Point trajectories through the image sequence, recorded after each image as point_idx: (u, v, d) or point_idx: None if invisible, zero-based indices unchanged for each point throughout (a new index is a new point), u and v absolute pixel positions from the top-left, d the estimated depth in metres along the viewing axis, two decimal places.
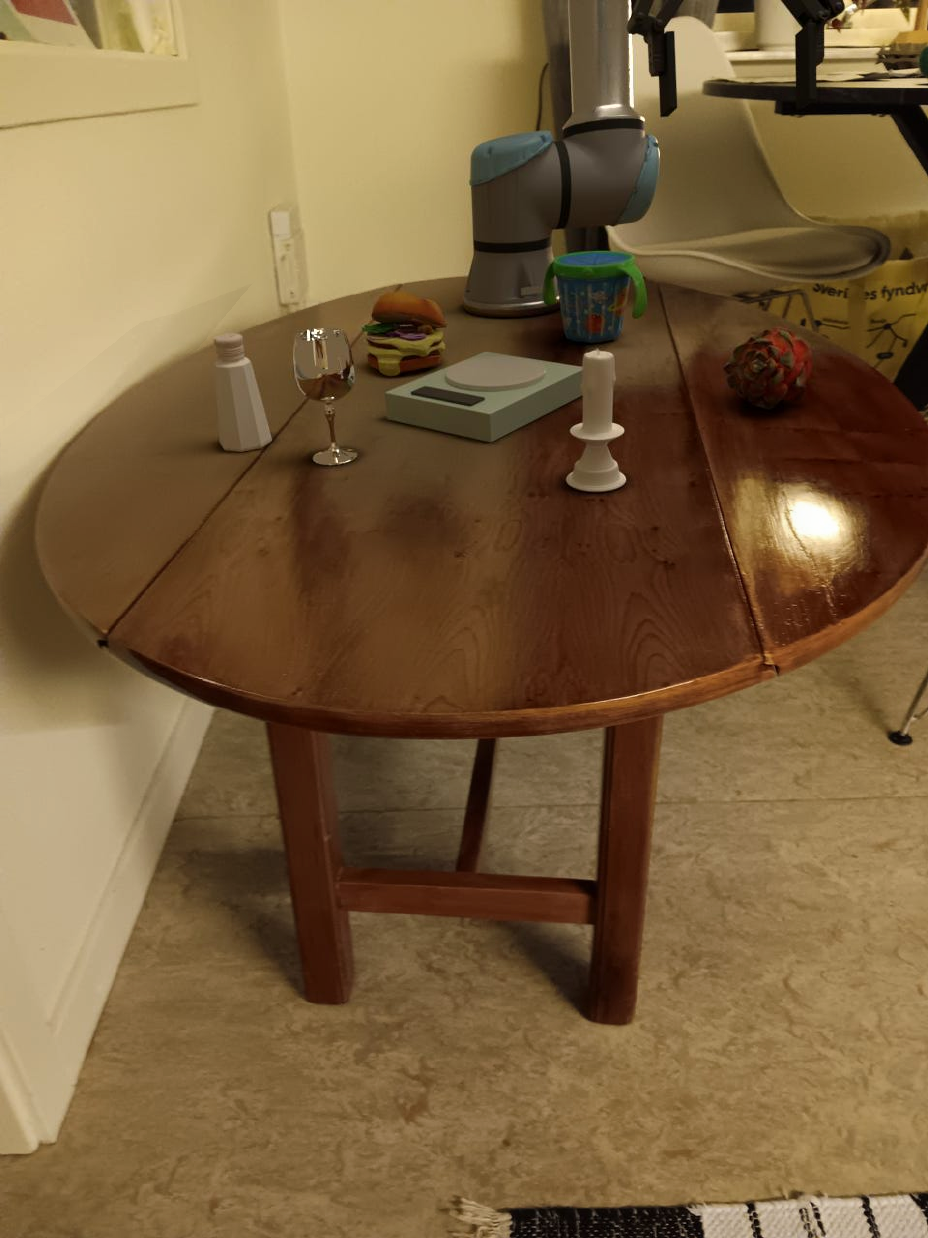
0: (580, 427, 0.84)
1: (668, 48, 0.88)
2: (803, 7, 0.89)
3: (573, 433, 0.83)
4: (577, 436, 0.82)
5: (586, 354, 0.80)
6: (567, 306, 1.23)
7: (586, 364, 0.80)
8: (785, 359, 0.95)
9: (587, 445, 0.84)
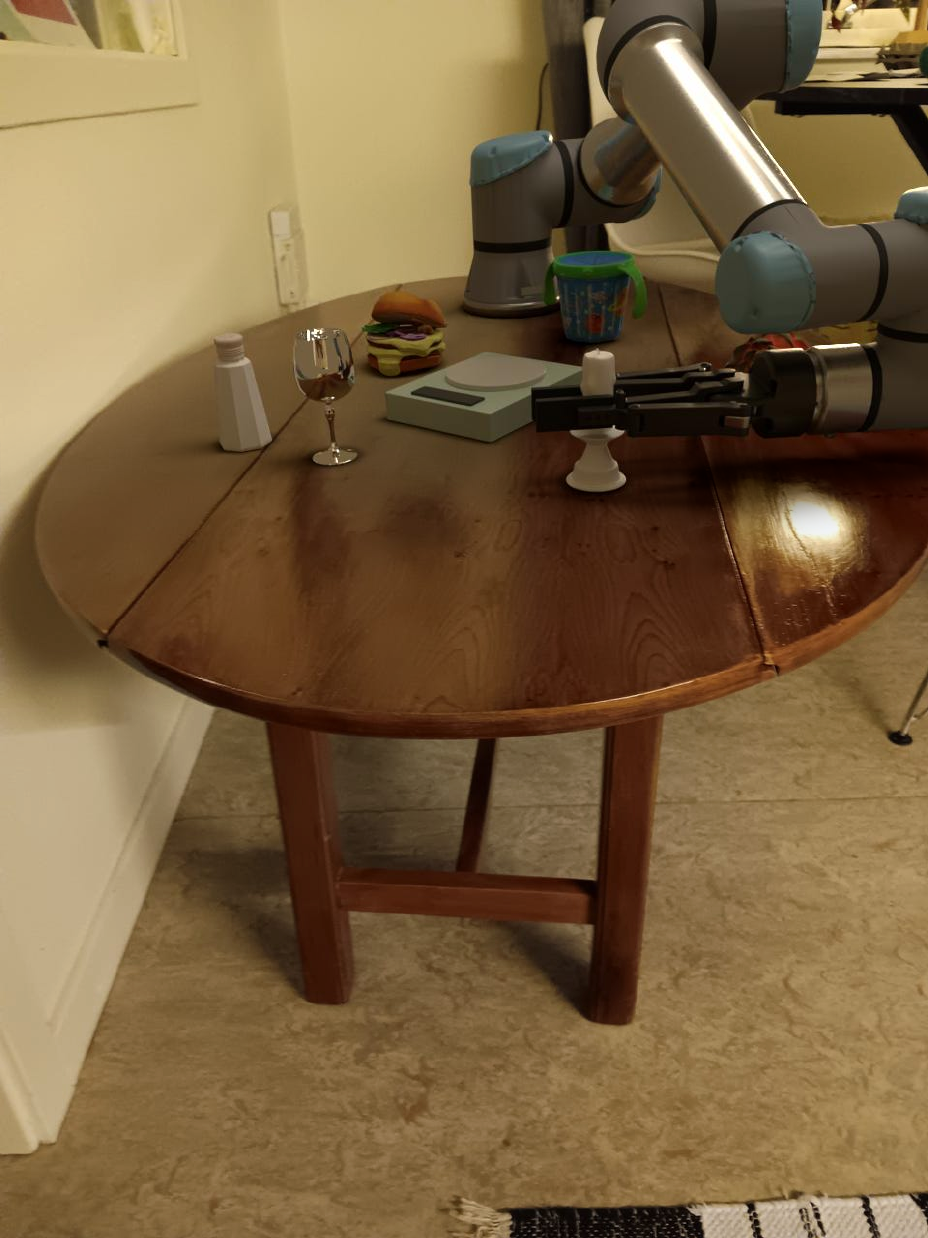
0: None
1: (595, 427, 0.81)
2: None
3: (573, 433, 0.83)
4: (577, 436, 0.82)
5: (586, 354, 0.80)
6: (567, 306, 1.23)
7: (586, 364, 0.80)
8: None
9: (587, 445, 0.84)
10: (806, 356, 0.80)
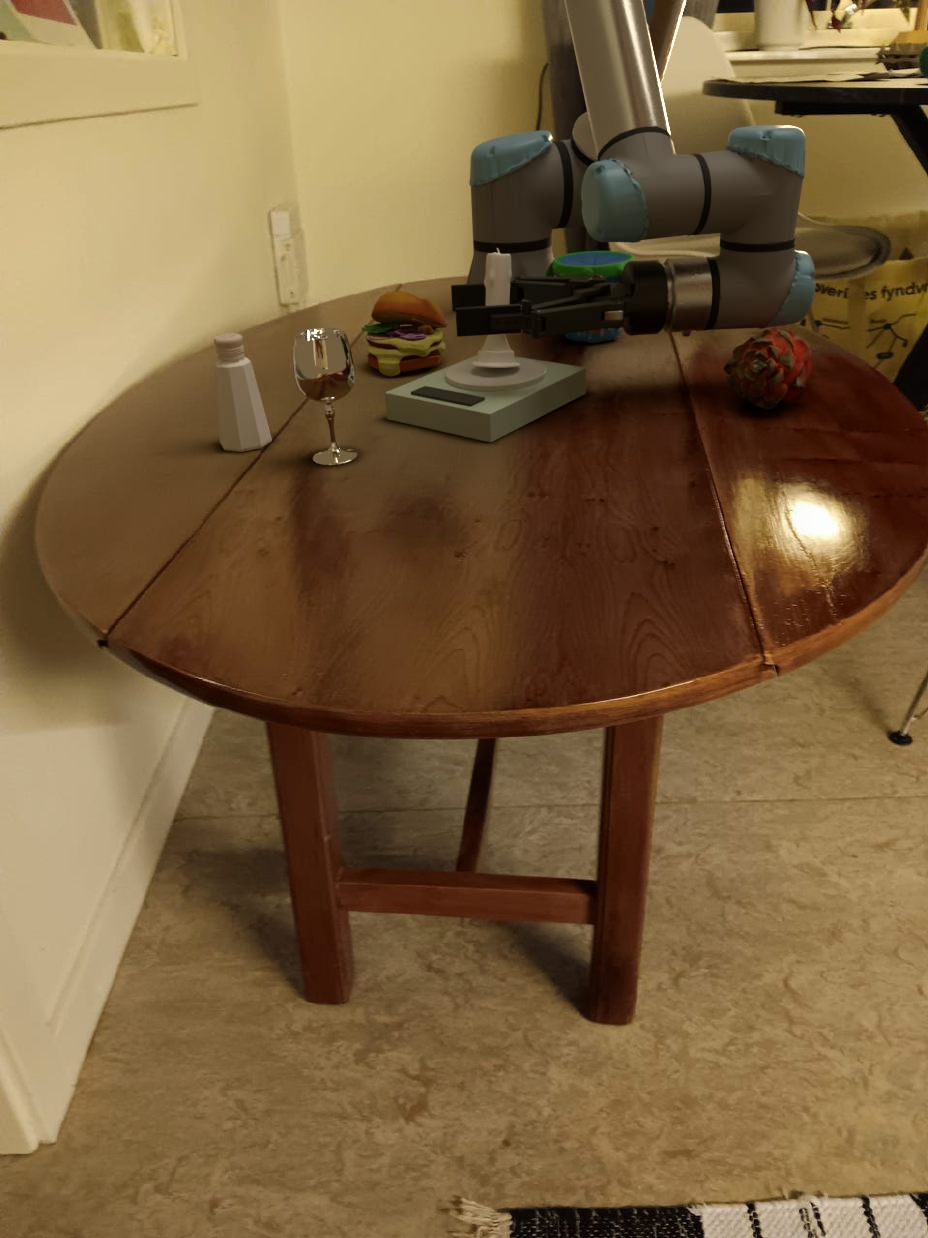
0: None
1: (506, 332, 0.97)
2: None
3: None
4: None
5: (489, 253, 1.00)
6: None
7: (488, 260, 1.00)
8: (785, 359, 0.95)
9: None
10: (659, 264, 0.99)
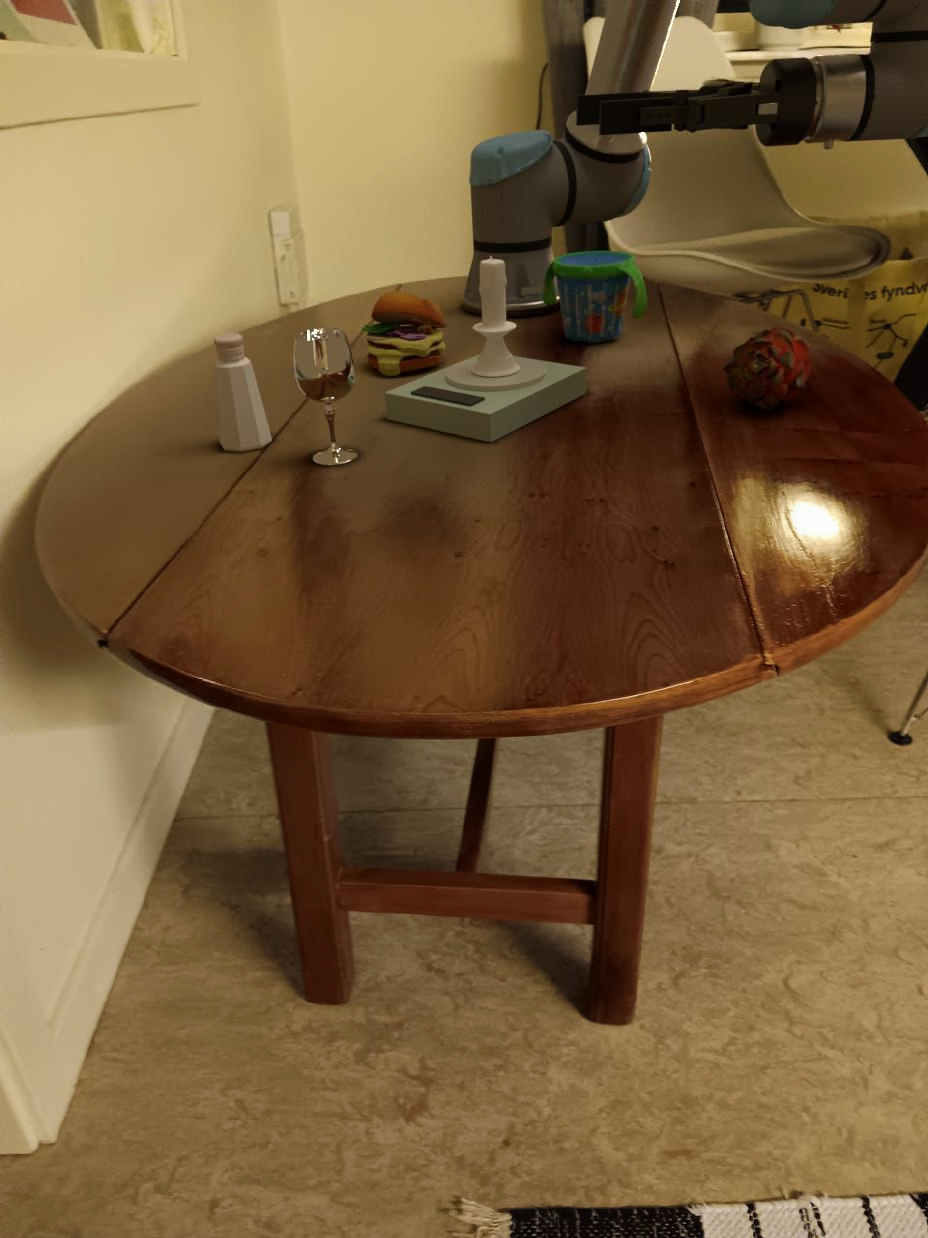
0: (481, 324, 1.02)
1: (655, 130, 0.87)
2: None
3: (474, 328, 1.01)
4: (477, 330, 1.01)
5: (482, 261, 0.99)
6: (567, 306, 1.23)
7: (482, 269, 0.99)
8: (785, 359, 0.95)
9: (486, 339, 1.03)
10: (807, 60, 0.90)
